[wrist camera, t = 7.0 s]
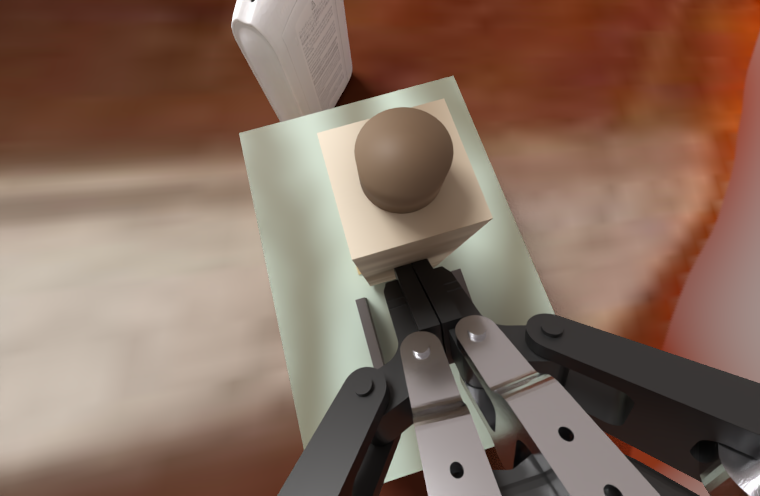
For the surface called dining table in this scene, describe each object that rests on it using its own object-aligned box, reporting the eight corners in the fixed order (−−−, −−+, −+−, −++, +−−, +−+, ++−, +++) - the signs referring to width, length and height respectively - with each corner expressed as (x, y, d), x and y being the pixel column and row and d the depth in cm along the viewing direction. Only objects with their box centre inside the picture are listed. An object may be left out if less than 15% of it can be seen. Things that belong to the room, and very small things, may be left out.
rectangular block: (341, 432, 22) (304, 537, 12) (283, 186, 27) (222, 113, 17) (520, 374, 23) (629, 428, 13) (433, 145, 28) (460, 50, 18)
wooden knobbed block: (370, 286, 16) (345, 250, 6) (352, 224, 17) (305, 103, 7) (434, 267, 16) (513, 201, 6) (413, 206, 17) (453, 63, 7)
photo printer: (324, 57, 30) (283, -108, 18) (358, 70, 30) (340, -90, 18) (278, 132, 29) (200, 2, 16) (315, 147, 28) (261, 25, 16)
